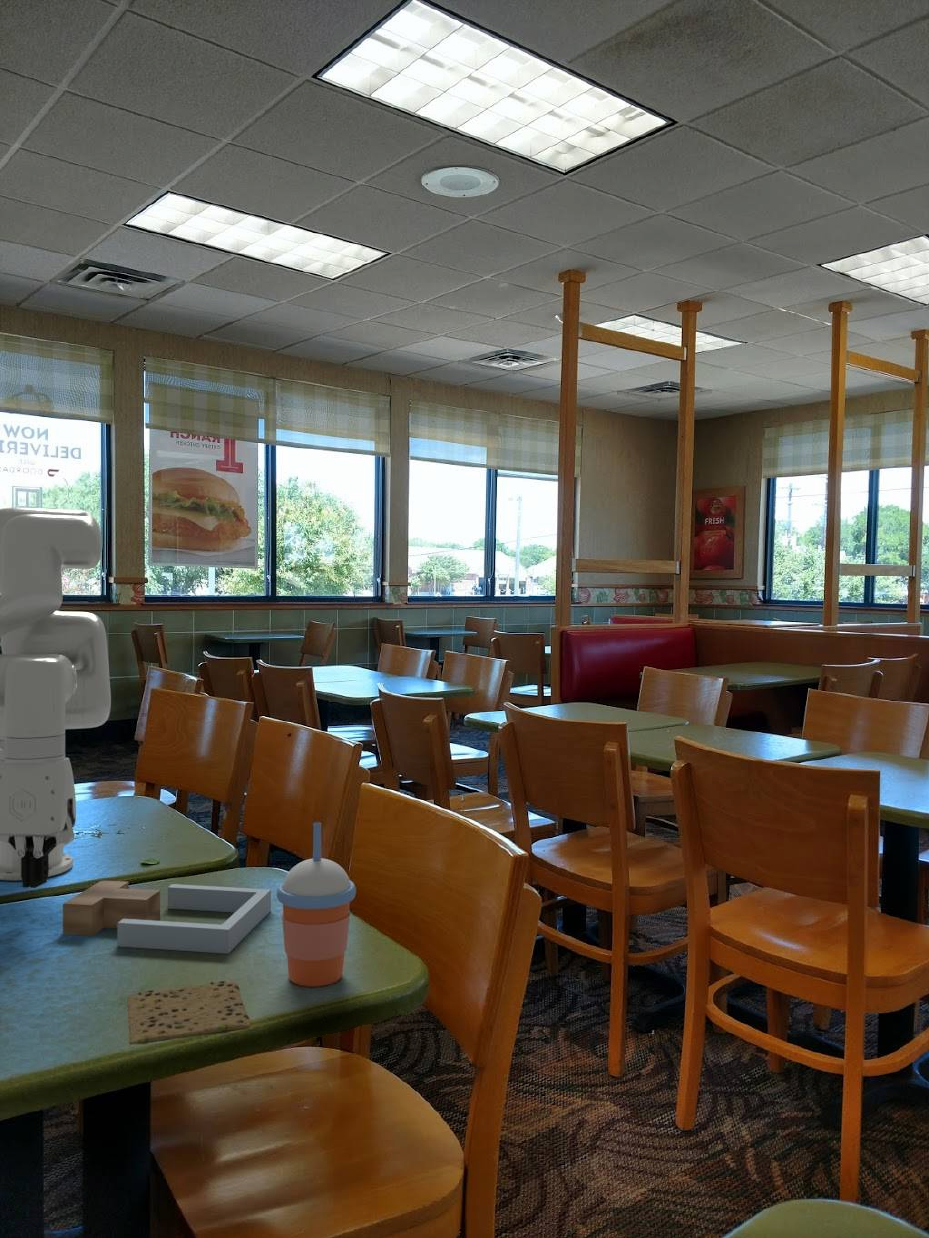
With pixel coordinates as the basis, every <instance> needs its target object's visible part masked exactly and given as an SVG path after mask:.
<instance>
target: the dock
mask: <svg viewBox="0 0 929 1238" xmlns="http://www.w3.org/2000/svg"><path fill="white" fill-rule="evenodd" d="M167 909H173V910H188V911H189V910H190V911H203V912H222V913H233V914H232V915H231V916H230V917H228V918H227V919H226V920H225V921H224V922H223V923H222V924H215V923H200V922H199V923H198V922H184V921H182V922H181V921H170V920H169V921H166V920H159V921H153V920H137V919H122V920H121V921H119V922H118V928H117V942H116V943H117V945H116V947H120V948H121V947H123V948H137V949H150V950H151V949H153V950H168V951H182V952H184V951H185V952H196V953H198V952H200V953H211V954H213V953H214V954H225V955H226V954H227V955H228V954H230V953H231V952H232V951H233V950H234V949H235V948H236V947H237V946H238V945H239V944H240V943H241V942H242V941H243V940H244V939H245V938H246V937H247V936H248V935H249V934H250V933H251V932H252V931H253V929H255V928H256V927H257V926H258V925H259V924H260V923H261V922H262V921H263V919H265V918H266V916H267V915H269V913H271V912H272V889H267V888H266V889H265V888H251V887H250V888H248V887H234V886H232V887H231V886H230V887H229V886H214V885H212V886H211V885H198V884H197V885H196V884H195V885H194V884H178V883H171V885H169V886H168V887H167Z"/></svg>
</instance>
